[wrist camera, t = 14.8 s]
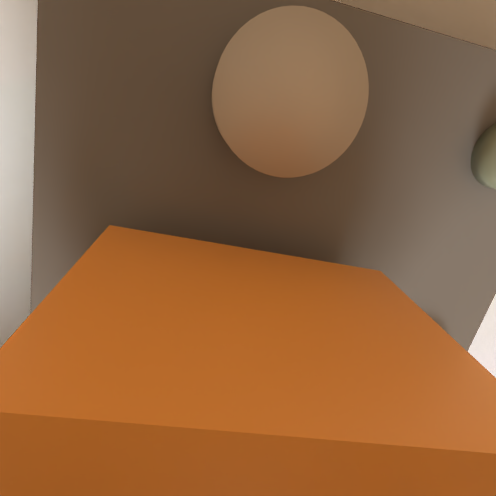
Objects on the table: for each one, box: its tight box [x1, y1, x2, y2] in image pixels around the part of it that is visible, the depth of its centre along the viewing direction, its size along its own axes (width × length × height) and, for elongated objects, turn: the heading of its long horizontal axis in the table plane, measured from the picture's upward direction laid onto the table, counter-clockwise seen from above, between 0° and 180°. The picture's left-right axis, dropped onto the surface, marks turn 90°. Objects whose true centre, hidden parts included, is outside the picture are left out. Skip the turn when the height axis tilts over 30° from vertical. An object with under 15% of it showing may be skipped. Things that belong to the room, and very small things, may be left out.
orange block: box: [0, 225, 496, 496], centre depth 8 cm, size 7×7×6 cm
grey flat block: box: [31, 0, 496, 351], centre depth 13 cm, size 20×15×4 cm
